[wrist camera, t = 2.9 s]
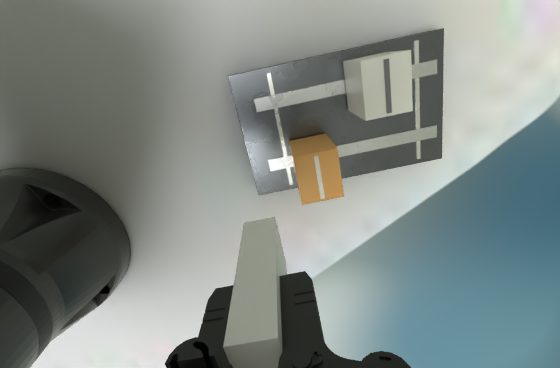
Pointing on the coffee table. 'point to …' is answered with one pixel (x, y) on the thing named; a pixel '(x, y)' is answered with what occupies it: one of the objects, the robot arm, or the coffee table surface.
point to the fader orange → (316, 168)
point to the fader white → (379, 84)
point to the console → (338, 113)
